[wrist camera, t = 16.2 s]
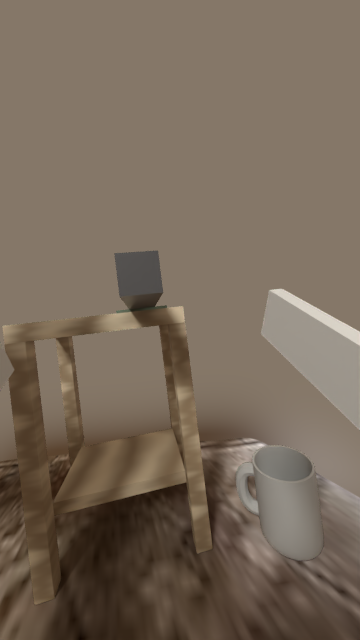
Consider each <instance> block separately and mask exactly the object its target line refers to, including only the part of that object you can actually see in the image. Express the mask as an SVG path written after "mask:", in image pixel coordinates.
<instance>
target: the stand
mask: <svg viewBox="0 0 360 640" xmlns="http://www.w3.org/2000/svg"><path fill="white" fill-rule="evenodd" d="M116 312H117V313H116V314H107V315H98V316H89V317H81V318H70V319H62V320H53V321H43V322H34V323H25V324H17V325H7V326H3V335H4V343H5V352H6V354H7V356H8V358H9V360H10V362H11V364H12V366H13V368H14V371H13V373H12V374H11V376H10V377H9V387H10V395H11V405H12V414H13V422H14V430H15V440H16V449H17V457H18V466H19V475H20V484H21V493H22V502H23V510H24V519H25V528H26V537H27V546H28V554H29V563H30V572H31V581H32V590H33V598H34V605H37V604H40V603H43V602H46V601H49V600H53V599H55V596H56V593H57V590H58V587H59V583H60V580H61V570H60V562H59V553H58V544H57V536H56V527H55V518H54V516H56V515H60V514H64V513H67V512H71V511H75V510H79V509H83V508H87V507H91V506H95V505H99V504H103V503H107V502H111V501H115V500H118V499H122V498H126V497H130V496H134V495H138V494H142V493H146V492H150V491H154V490H158V489H162V488H166V487H170V486H173V485H177V484H181V483H185V482H186V483H187V491H188V499H189V507H190V515H191V524H192V532H193V539H194V543H195V547H196V551H197V554H198V553H201V552H204V551H208V550H211V549H213V546H212V538H211V530H210V522H209V514H208V506H207V498H206V489H205V481H204V473H203V465H202V457H201V449H200V441H199V433H198V425H197V416H196V408H195V400H194V393H193V384H192V377H191V367H190V359H189V351H188V343H187V335H186V327H185V319H184V310H183V306H180V307H171V308H167V306H157V307H148V308H139V309H129V310H120V311H116ZM157 325H159V328H160V336H161V344H162V352H163V361H164V368H165V377H166V386H167V394H168V402H169V410H170V419H171V427H172V429H167V430H162V431H158V432H153V433H147V434H143V435H138V436H133V437H128V438H124V439H119V440H114V441H109V442H105V443H100V444H95V445H90V446H85V443H84V435H83V426H82V418H81V409H80V400H79V392H78V384H77V377H76V376H77V375H76V366H75V359H74V349H73V341H72V336H76V335H84V334H93V333H100V332H109V331H117V330H125V329H133V328H141V327H149V326H157ZM51 338H56V344H57V352H58V361H59V369H60V378H61V386H62V396H63V403H64V412H65V421H66V430H67V439H68V447H69V456H70V464H71V468H70V470H69V472H68V474H67V476H66V478H65V480H64V482H63V484H62V486H61V488H60V490H59V492H58V494H57V496H56V498H55V500H54V502H53V501H52V492H51V484H50V475H49V466H48V458H47V449H46V440H45V432H44V423H43V415H42V406H41V398H40V388H39V380H38V371H37V363H36V354H35V345H34V341H35V340H44V339H51Z"/></svg>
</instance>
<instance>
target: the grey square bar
mask: <svg viewBox="0 0 360 640" xmlns="http://www.w3.org/2000/svg"><path fill="white" fill-rule="evenodd" d="M115 262H116V270H117V278H118V287H119V295H120V298H121V299H122V300H123V301H124V303H125V304H126V306H127V307H128V308H129V309H139V308H148V307H155V305H156V303H157V302H158V300H159V298H160V297H161V295H162V293H163V288H162V280H161V272H160V263H159V256H158V251H146V252H131V253H130V252H129V253H115Z"/></svg>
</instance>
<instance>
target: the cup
mask: <svg viewBox="0 0 360 640" xmlns="http://www.w3.org/2000/svg"><path fill="white" fill-rule="evenodd" d="M248 476H254V478H255V487H256V495H257V499H255V498H253V497H252V496H251V494H250V492H249V490H248V485H247V480H248ZM236 487H237V491H238V495H239V498H240V500H241V502H242V503H243V505H244V506H245V507H246V508H247V509H248V510H249V511H250V512H252V513H253V514H255V515H258V516H259V518H260V524H261V529H262V532H263V534H264V536H265V538H266V540H267V541H268V542H269V543H270V545H271V546H272V547H273V548H274V549H275V550H276V551H278V552H279V553H280V554H282V555H283V556H285V557H287V558H290V559H293V560H297V561H308V560H311V559H314V558H315V557H316V556H317V555H318V554H320V553H321V550H322V548H323V544H324V534H323V526H322V518H321V510H320V503H319V495H318V487H317V479H316V472H315V466H314V463H313V462H312V461H311V459H310V458H309V457H308V456H306V455H305V454H304V453H302V452H300V451H299V450H296V449H293V448H291V447H286V446H279V445H273V446H266V447H262V448H260V449H258V450H257V451H256V452H255V453H254V455H253V457H252V462H245V463H243V464H242V465H241V466H239V467H238V469H237V472H236Z"/></svg>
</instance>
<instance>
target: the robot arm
mask: <svg viewBox="0 0 360 640" xmlns="http://www.w3.org/2000/svg"><path fill="white" fill-rule="evenodd" d="M261 334H262V335H263V337H264V338H266V339H267V340H268V341H269V342H270V343H271V344H272V345H273V346H274V347H275V348H276V349H277V350H278V351H279V352H280V353H281V354H282V355H283V356H284V357H285V358H286V359H287V360H288V361H289V362H290V363H291V364H292V365H293V366H294V367H295V368H296V369H297V370H298V371H299V372H301V374H302V375H303V376H304V377H305V378H307V379H308V380H309V381H310V382H311V383H312V384H313V385H314V386H315V387H316V388H317V389H318V390H319V391H320V392H321V393H322V394H323V395H324V396H325V397H326V398H327V399H328V400H329V401H330V402H331V403H332V404H333V405H334V406H335V407H336V408H337V409H338V410H339V411H340V412H341V413H343V415H344V416H345V417H347V418H348V419H349V420H350V421H351V422H352V423H353V424H354V425H355V426H356V427H357V428H358V429H359V430H360V332H359V331H357V330H355V329H354V328H352V327H350V326H348V325H347V324H345V323H343V322H341V321H339V320H337V319H336V318H334V317H332V316H330V315H328V314H327V313H325V312H323V311H321V310H319V309H318V308H316V307H314V306H312V305H310V304H309V303H307V302H305V301H303V300H301V299H300V298H298V297H296V296H294V295H292V294H291V293H289V292H287V291H285V290H283V289H276V290H269V294H268V299H267V305H266V310H265V315H264V320H263V326H262V332H261ZM13 371H14V368H13V366H12V364H11V362H10V360H9V358H8V356H7V354H6V352H5V350H4V348H3V347H2V344H1V342H0V391H1V389H2V388H3V386H4V385H5V383H6V382H7V380H8V379H9V377H10V376H11V374H12V373H13Z"/></svg>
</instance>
